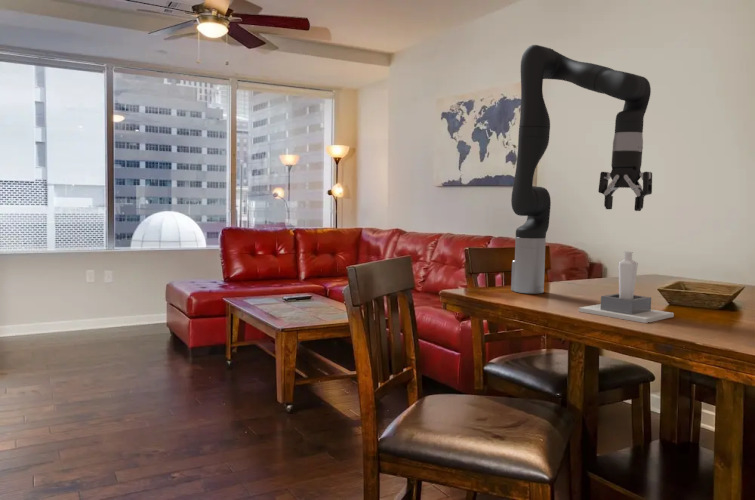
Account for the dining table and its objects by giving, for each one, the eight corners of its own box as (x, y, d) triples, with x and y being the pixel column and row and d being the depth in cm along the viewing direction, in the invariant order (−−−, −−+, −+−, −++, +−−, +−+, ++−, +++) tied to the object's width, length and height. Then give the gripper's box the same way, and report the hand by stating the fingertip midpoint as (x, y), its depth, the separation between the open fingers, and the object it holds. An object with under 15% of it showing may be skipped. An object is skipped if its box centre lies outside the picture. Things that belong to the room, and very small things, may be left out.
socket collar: (600, 309, 153) (601, 296, 153) (619, 306, 159) (620, 293, 159) (631, 314, 147) (632, 300, 146) (650, 310, 152) (651, 297, 152)
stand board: (578, 311, 155) (578, 307, 155) (607, 306, 164) (607, 302, 164) (645, 323, 141) (645, 319, 141) (673, 316, 150) (673, 312, 150)
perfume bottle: (637, 312, 150) (640, 253, 149) (618, 311, 151) (621, 252, 150) (633, 309, 154) (636, 251, 153) (615, 308, 155) (618, 251, 154)
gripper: (595, 150, 165) (591, 208, 166) (645, 148, 153) (640, 211, 155) (610, 151, 169) (607, 208, 171) (660, 150, 158) (655, 211, 159)
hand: (623, 210), depth 163 cm, fingers open, 8 cm apart
